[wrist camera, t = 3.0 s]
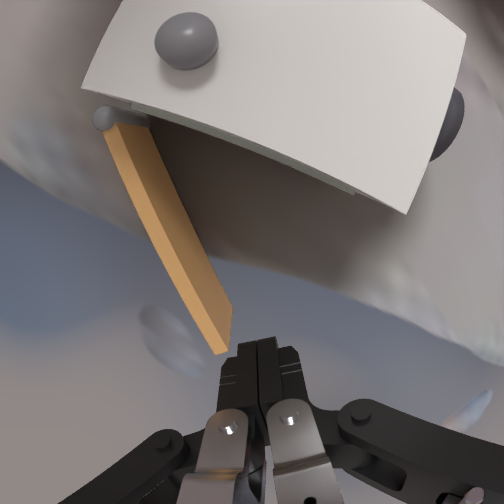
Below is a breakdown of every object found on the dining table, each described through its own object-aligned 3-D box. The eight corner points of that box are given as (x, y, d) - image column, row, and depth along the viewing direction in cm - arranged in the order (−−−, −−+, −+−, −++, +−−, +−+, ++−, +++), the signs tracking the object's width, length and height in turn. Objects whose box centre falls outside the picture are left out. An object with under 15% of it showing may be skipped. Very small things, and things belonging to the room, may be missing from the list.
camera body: (205, -9, 13) (179, -91, 5) (415, 81, 15) (504, 56, 7) (145, 113, 16) (67, 91, 8) (366, 203, 18) (445, 245, 10)
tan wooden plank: (146, 112, 16) (110, 100, 11) (235, 305, 20) (231, 352, 15) (124, 124, 16) (83, 118, 11) (214, 312, 20) (205, 360, 16)
